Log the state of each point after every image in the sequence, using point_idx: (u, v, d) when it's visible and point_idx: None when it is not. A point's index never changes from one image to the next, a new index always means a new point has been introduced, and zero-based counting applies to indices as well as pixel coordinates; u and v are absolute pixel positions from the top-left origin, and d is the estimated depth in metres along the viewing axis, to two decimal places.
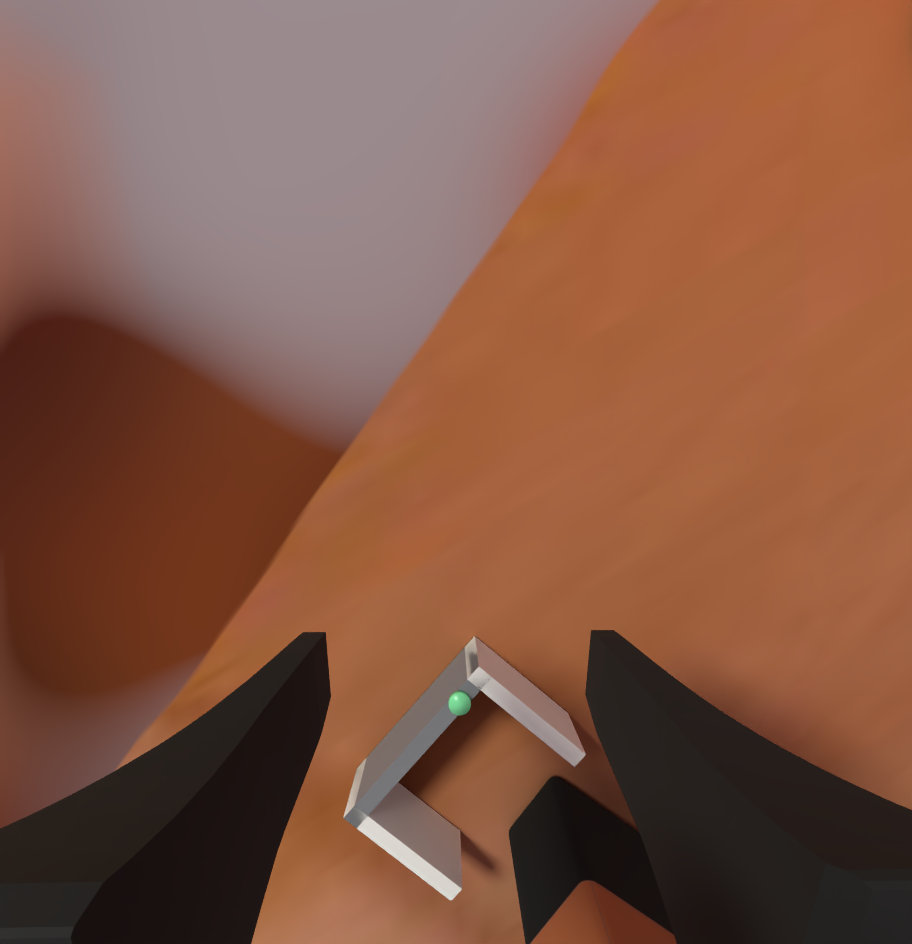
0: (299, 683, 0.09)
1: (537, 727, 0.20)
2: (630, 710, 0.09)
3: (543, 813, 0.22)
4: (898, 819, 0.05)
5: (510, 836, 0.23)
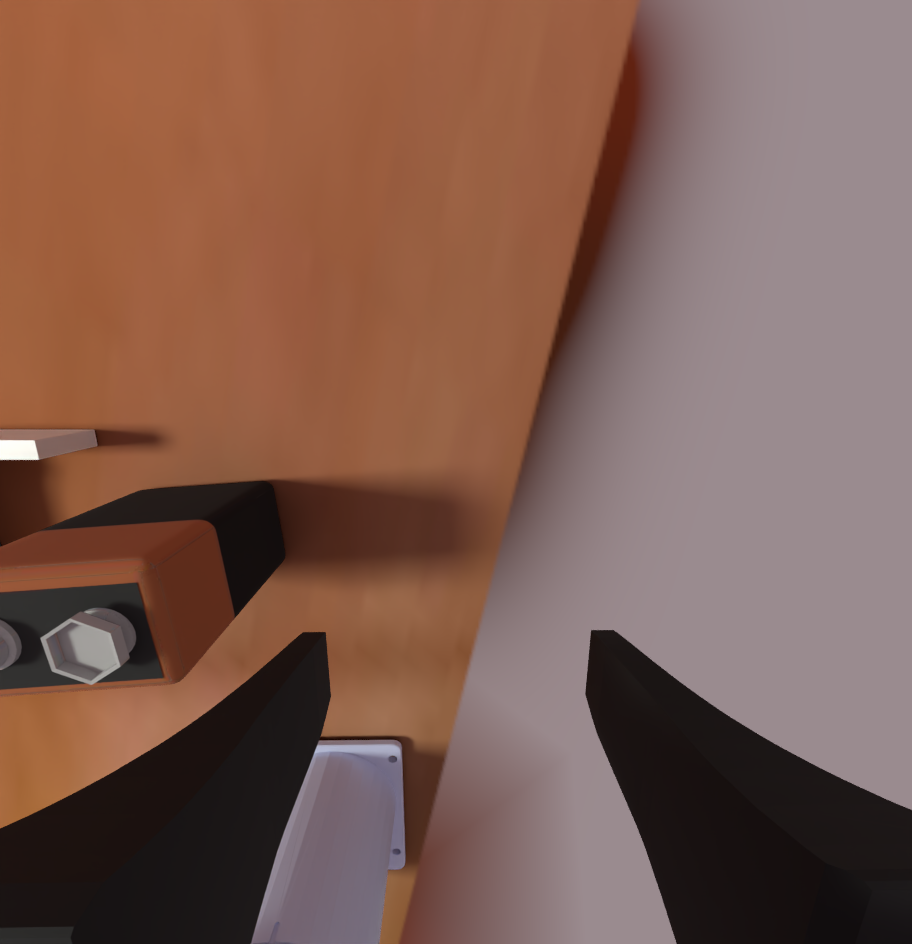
0: (299, 684, 0.09)
1: None
2: (630, 710, 0.09)
3: None
4: (898, 819, 0.05)
5: None
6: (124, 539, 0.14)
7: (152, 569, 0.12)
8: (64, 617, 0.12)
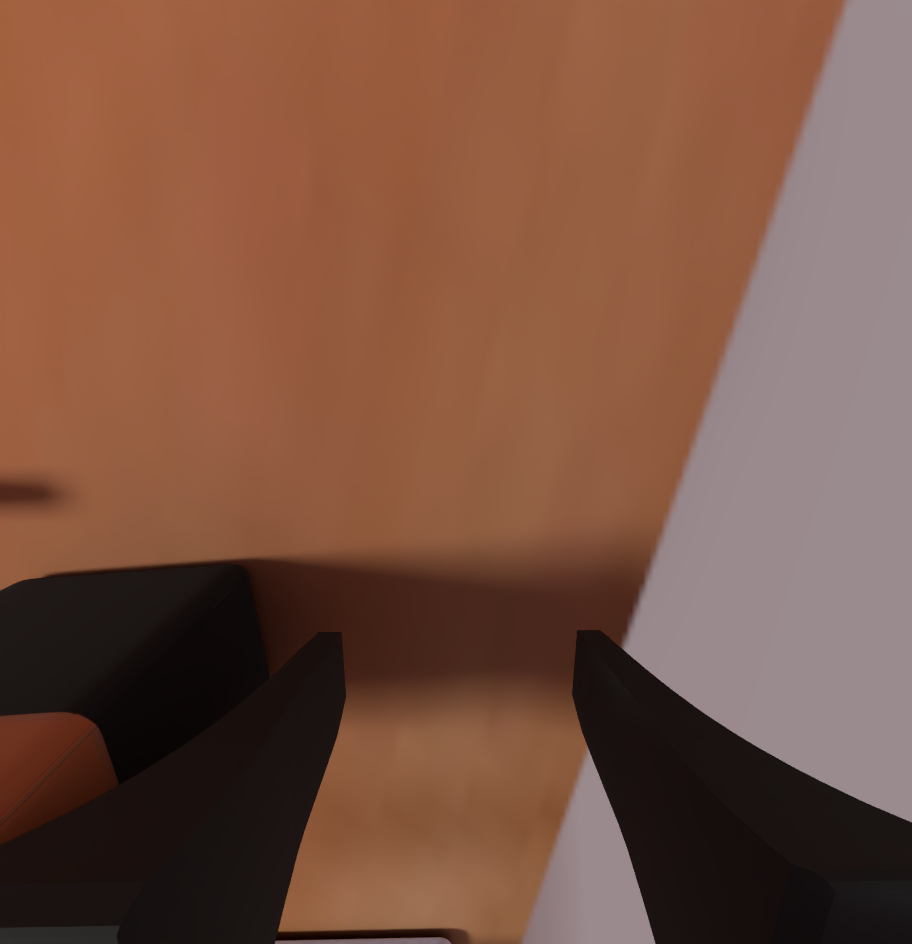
0: (318, 683, 0.09)
1: None
2: (613, 710, 0.09)
3: None
4: (869, 819, 0.05)
5: None
6: None
7: None
8: None
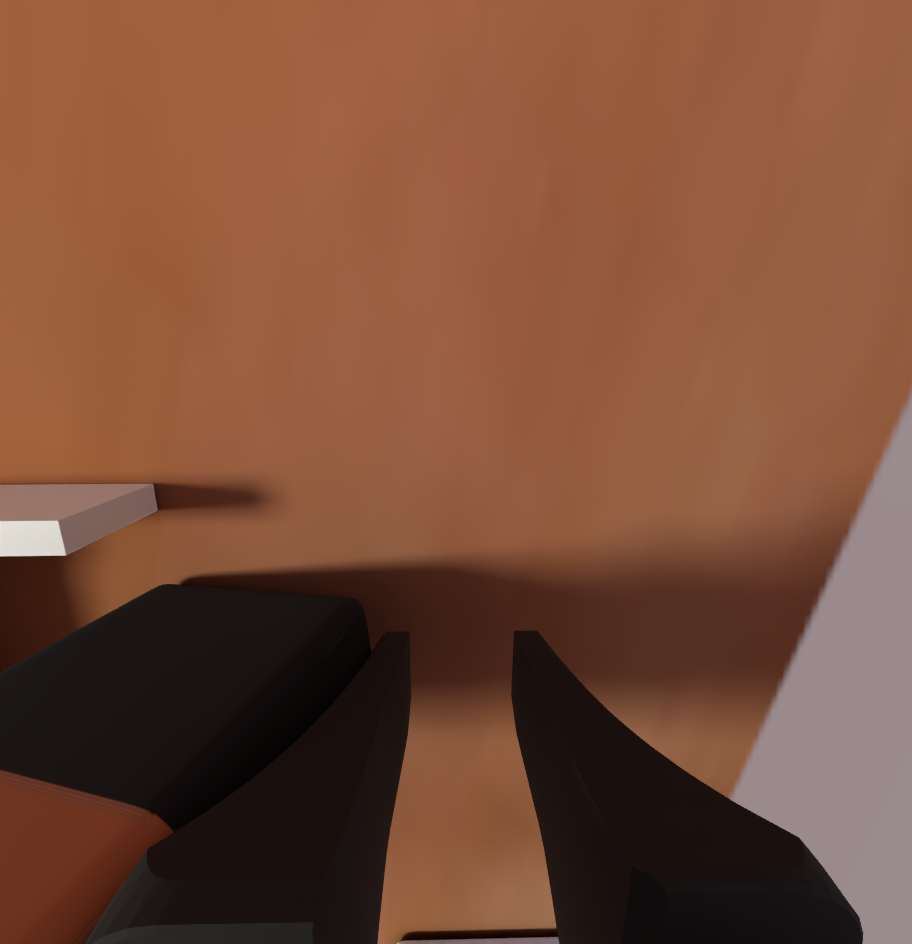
0: (398, 682, 0.09)
1: None
2: (535, 711, 0.09)
3: None
4: (733, 821, 0.05)
5: None
6: None
7: None
8: None
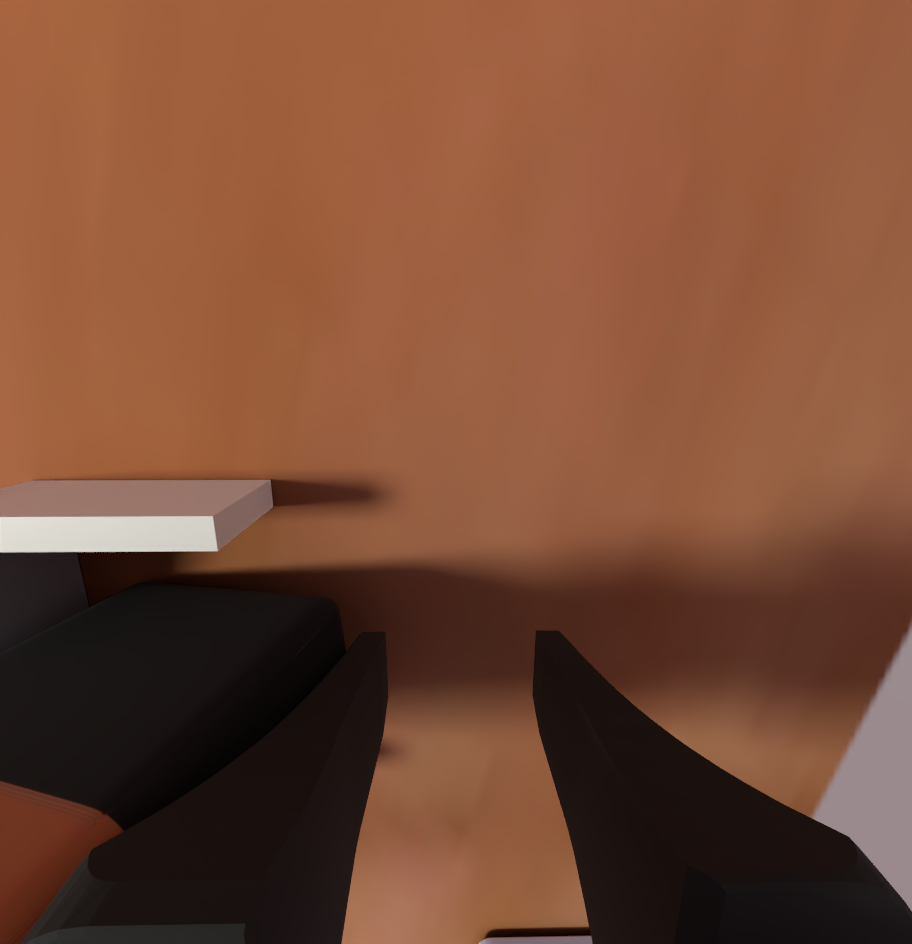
0: (370, 683, 0.09)
1: (93, 537, 0.09)
2: (562, 711, 0.09)
3: None
4: (780, 821, 0.05)
5: None
6: None
7: None
8: None
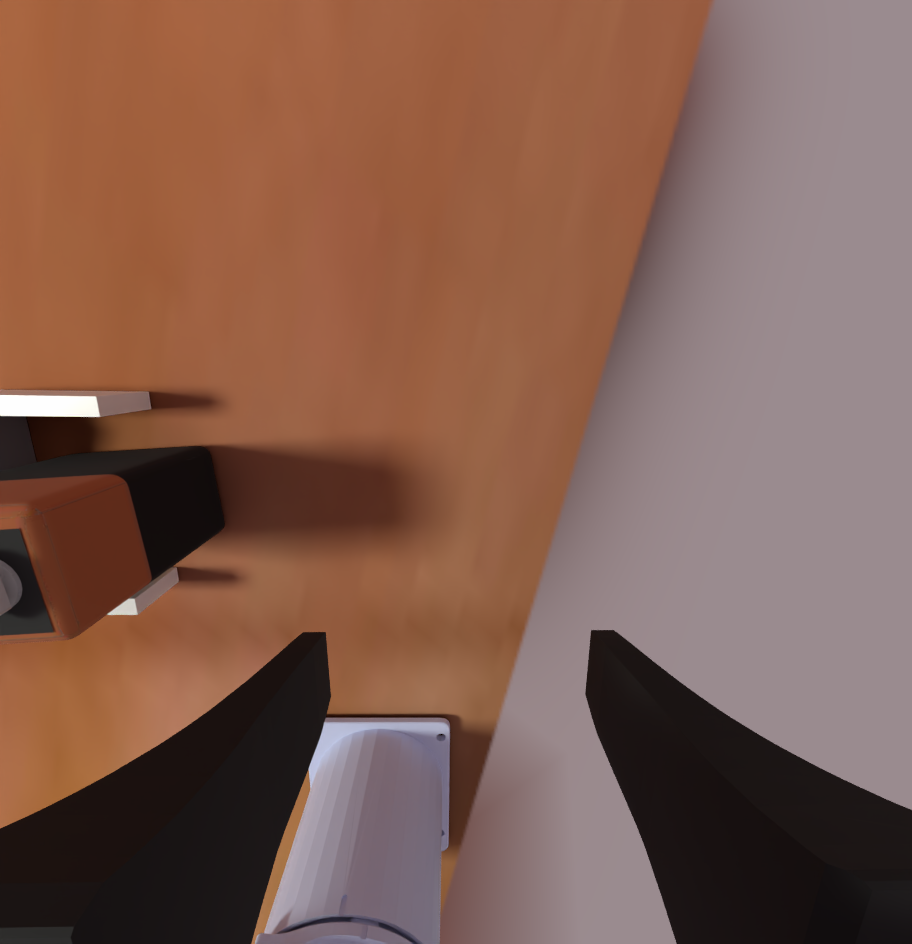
0: (299, 684, 0.09)
1: (31, 407, 0.17)
2: (630, 710, 0.09)
3: None
4: (898, 819, 0.05)
5: None
6: (20, 490, 0.13)
7: (38, 515, 0.12)
8: None
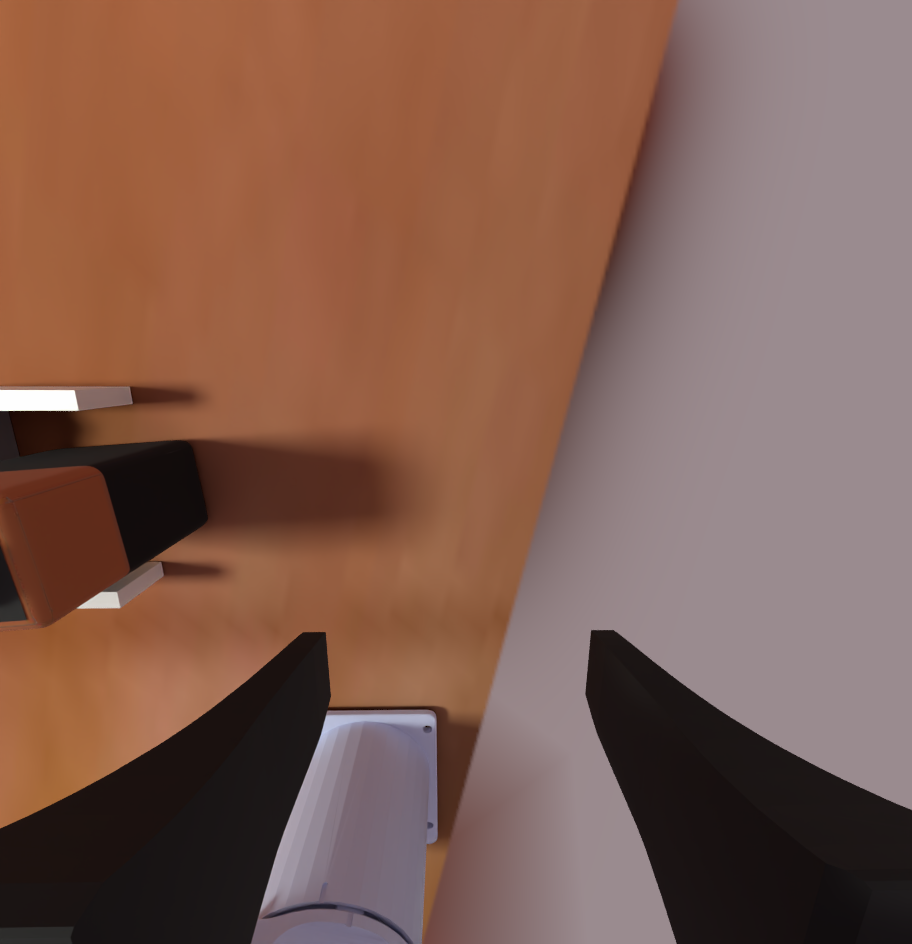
0: (299, 684, 0.09)
1: (10, 402, 0.17)
2: (630, 710, 0.09)
3: None
4: (898, 819, 0.05)
5: None
6: None
7: (8, 503, 0.12)
8: None
